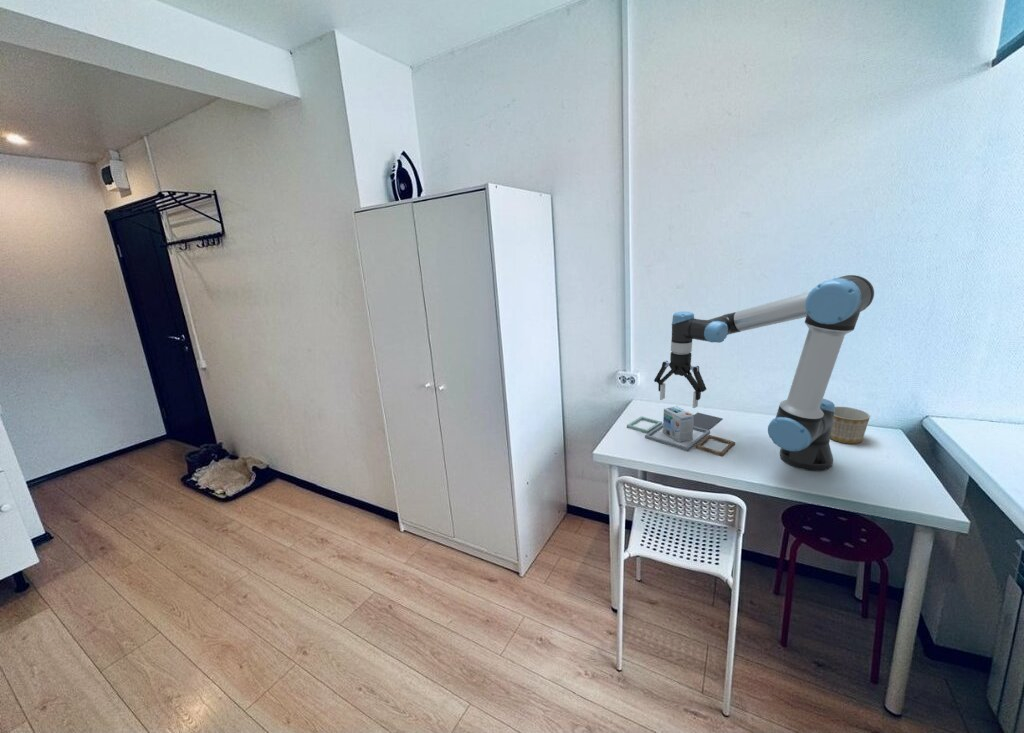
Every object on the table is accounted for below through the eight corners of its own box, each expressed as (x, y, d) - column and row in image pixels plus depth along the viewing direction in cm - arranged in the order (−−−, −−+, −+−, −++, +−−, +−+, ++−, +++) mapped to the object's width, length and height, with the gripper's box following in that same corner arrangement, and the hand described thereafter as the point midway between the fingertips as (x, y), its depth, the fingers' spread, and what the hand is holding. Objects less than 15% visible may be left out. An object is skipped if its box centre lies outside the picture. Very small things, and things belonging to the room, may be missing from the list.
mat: (722, 419, 179) (722, 418, 179) (708, 430, 170) (708, 430, 169) (697, 413, 187) (697, 412, 187) (682, 424, 178) (682, 423, 177)
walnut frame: (735, 444, 157) (735, 441, 157) (722, 456, 149) (722, 453, 149) (708, 437, 164) (708, 434, 164) (695, 448, 157) (695, 445, 156)
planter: (858, 449, 147) (863, 422, 145) (817, 437, 157) (821, 412, 154) (869, 438, 154) (874, 412, 152) (829, 427, 164) (833, 403, 161)
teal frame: (661, 424, 179) (662, 421, 178) (647, 433, 171) (647, 431, 171) (641, 418, 186) (641, 416, 186) (626, 427, 178) (626, 424, 178)
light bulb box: (662, 432, 172) (662, 408, 169) (675, 429, 174) (676, 405, 171) (679, 442, 162) (680, 417, 159) (693, 439, 164) (694, 414, 161)
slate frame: (710, 433, 168) (710, 430, 167) (687, 451, 155) (687, 448, 155) (668, 421, 181) (668, 419, 180) (644, 437, 168) (644, 435, 168)
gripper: (718, 354, 151) (714, 407, 157) (656, 345, 169) (654, 393, 175) (709, 359, 146) (705, 413, 153) (646, 349, 164) (645, 398, 171)
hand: (678, 402), depth 164 cm, fingers open, 13 cm apart
